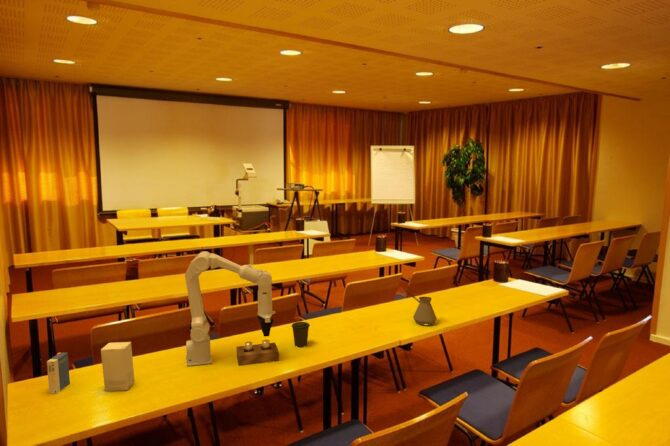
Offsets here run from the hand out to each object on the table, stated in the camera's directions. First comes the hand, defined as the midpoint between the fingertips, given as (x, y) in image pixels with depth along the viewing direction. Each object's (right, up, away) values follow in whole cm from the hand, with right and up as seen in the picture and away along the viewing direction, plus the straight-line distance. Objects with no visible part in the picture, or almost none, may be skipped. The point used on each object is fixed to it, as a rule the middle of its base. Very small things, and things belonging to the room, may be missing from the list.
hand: (265, 334), depth 185 cm
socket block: (-3, -10, 0) cm, 11 cm away
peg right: (0, -7, +1) cm, 7 cm away
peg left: (-7, -7, -1) cm, 10 cm away
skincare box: (-48, -13, -24) cm, 56 cm away
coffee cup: (+13, -9, +14) cm, 21 cm away
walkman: (-69, -13, -25) cm, 74 cm away
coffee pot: (+70, -5, +47) cm, 85 cm away
